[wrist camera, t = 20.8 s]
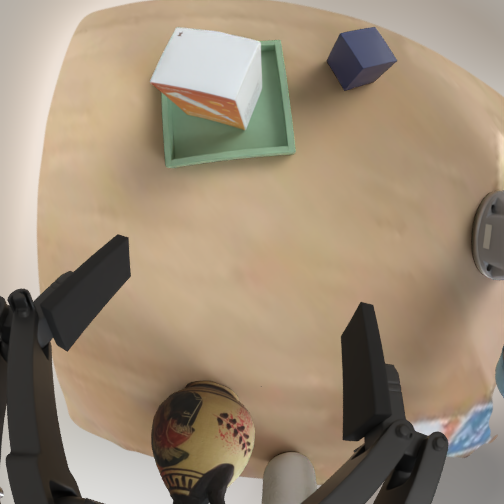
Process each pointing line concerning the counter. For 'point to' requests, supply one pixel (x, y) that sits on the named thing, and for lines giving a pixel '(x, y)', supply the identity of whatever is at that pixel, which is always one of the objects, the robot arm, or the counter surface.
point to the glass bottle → (288, 479)
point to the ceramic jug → (201, 442)
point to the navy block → (360, 57)
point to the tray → (228, 137)
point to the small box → (211, 75)
